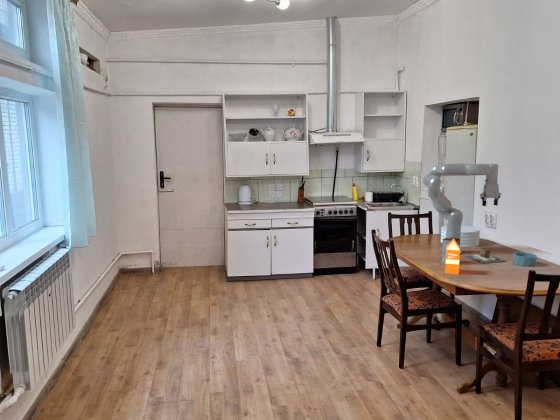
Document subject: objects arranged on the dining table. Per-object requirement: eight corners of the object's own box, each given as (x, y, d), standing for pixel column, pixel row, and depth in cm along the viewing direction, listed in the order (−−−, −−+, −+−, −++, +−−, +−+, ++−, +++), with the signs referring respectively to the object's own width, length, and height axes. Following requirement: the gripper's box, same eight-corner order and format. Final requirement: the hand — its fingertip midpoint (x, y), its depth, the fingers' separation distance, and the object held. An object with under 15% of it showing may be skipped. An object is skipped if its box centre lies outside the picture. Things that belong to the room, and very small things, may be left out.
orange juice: (445, 272, 274) (446, 240, 271) (445, 269, 282) (446, 237, 279) (458, 274, 271) (460, 241, 268) (458, 270, 279) (460, 238, 276)
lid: (483, 262, 295) (483, 253, 294) (467, 256, 309) (468, 247, 308) (502, 260, 299) (502, 251, 298) (486, 254, 313) (487, 246, 312)
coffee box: (451, 260, 302) (452, 236, 299) (459, 262, 296) (460, 238, 294) (441, 262, 297) (442, 238, 295) (449, 264, 292) (450, 240, 289)
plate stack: (432, 240, 360) (433, 226, 359) (459, 237, 371) (460, 224, 369) (459, 248, 335) (460, 233, 333) (487, 244, 346) (488, 230, 344)
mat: (482, 263, 293) (482, 263, 293) (464, 256, 310) (464, 256, 310) (505, 261, 298) (505, 260, 298) (486, 254, 315) (486, 254, 315)
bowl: (523, 267, 284) (524, 258, 283) (508, 262, 297) (508, 253, 296) (540, 265, 288) (541, 256, 287) (524, 260, 300) (525, 251, 299)
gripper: (484, 182, 311) (483, 206, 313) (505, 181, 315) (503, 205, 318) (477, 181, 318) (475, 205, 321) (497, 180, 323) (496, 204, 325)
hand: (489, 205), depth 319 cm, fingers open, 9 cm apart
